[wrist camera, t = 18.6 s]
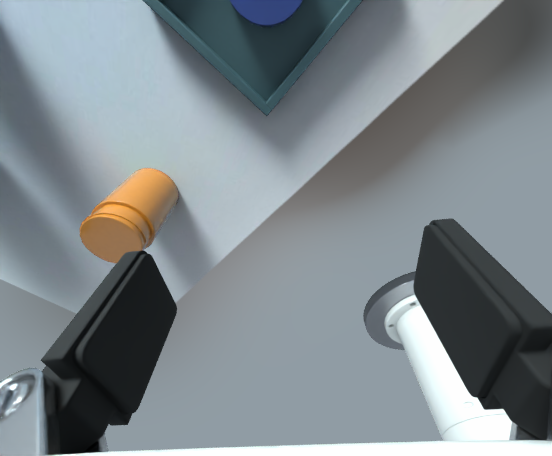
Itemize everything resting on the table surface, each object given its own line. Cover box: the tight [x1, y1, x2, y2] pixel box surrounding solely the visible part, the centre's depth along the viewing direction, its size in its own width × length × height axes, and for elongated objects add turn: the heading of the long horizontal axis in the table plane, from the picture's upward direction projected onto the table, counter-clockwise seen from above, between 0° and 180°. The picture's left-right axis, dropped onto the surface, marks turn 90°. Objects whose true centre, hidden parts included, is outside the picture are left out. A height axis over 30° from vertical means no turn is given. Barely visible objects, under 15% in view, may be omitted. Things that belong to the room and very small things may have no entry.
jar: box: [80, 168, 179, 263], centre depth 29 cm, size 6×6×10 cm
